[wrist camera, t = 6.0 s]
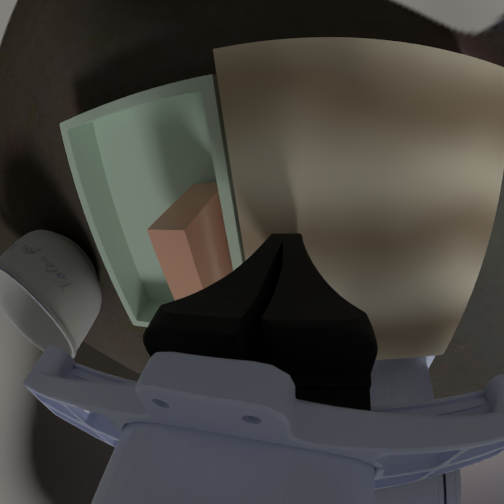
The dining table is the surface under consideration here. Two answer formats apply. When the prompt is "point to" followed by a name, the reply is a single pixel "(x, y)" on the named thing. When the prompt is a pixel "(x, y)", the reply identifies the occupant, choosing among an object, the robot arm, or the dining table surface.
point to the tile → (192, 241)
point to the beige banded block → (370, 171)
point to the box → (148, 178)
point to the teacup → (49, 290)
